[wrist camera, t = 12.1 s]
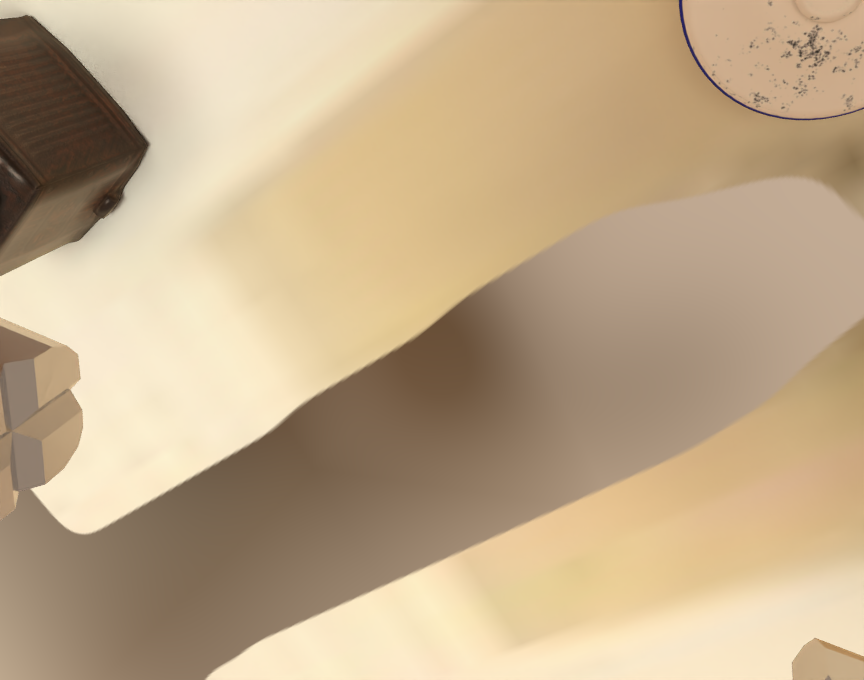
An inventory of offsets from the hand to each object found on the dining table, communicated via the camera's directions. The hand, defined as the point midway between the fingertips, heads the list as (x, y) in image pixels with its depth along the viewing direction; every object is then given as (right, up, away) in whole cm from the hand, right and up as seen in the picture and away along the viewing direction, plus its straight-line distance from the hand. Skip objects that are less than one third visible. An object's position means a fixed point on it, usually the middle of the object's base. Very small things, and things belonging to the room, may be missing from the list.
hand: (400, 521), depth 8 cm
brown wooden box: (-21, +16, +41) cm, 49 cm away
